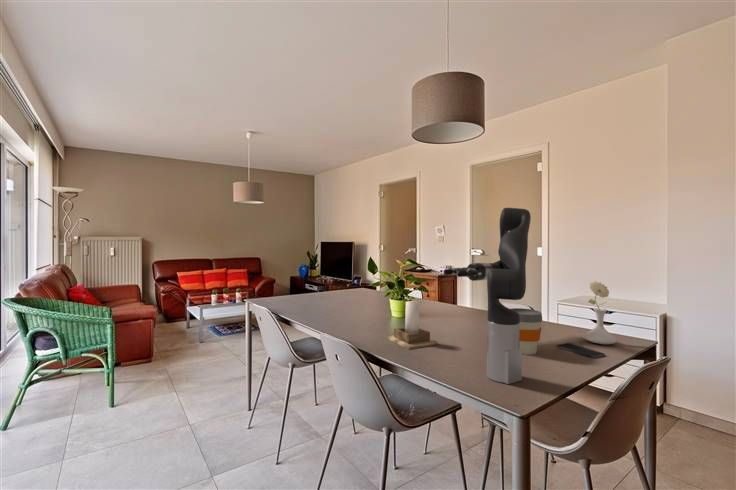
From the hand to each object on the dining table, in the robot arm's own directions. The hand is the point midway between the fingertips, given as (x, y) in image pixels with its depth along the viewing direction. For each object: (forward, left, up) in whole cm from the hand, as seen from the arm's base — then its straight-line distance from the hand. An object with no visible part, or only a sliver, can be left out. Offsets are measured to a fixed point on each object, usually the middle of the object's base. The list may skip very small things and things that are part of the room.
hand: (451, 273), depth 149 cm
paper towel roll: (+6, +15, -27) cm, 31 cm away
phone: (-33, -35, -29) cm, 56 cm away
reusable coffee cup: (-23, -16, -28) cm, 40 cm away
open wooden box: (+6, +15, -28) cm, 32 cm away
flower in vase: (-29, -54, -28) cm, 67 cm away
